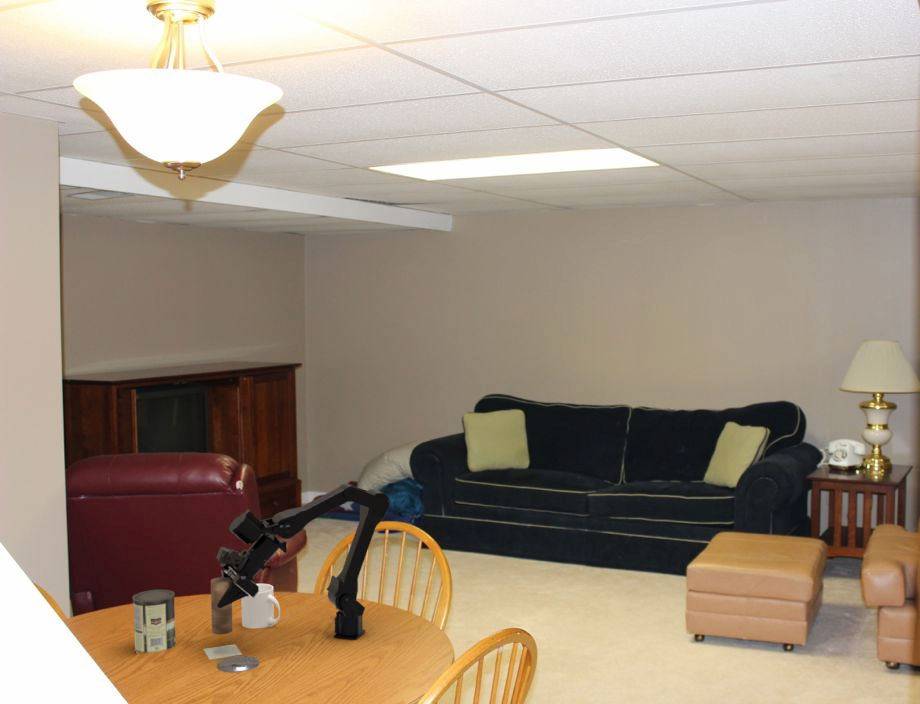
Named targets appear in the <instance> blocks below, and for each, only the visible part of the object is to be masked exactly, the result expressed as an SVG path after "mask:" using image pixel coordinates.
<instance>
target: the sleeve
mask: <svg viewBox="0 0 920 704" xmlns="http://www.w3.org/2000/svg"><path fill="white" fill-rule="evenodd" d="M230 579H231V578H230ZM228 588H229V578H228V577H222V576H221V577H214V578H212V579H211V580H210V601H211V602H210V603H211V604H210V605H211V607H210V608H211V610H210V611H211V633H212V634H213V635H227V634H230V633H232V632H233V602H232V603H230V604H228V605H226V606H224V607H222V608H218V607H217V604H218V603H219V601H220V600H221V598H222V597H223V595H224V594H225V592H226V591H227V589H228Z"/></svg>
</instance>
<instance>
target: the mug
mask: <svg viewBox="0 0 920 704" xmlns="http://www.w3.org/2000/svg"><path fill="white" fill-rule="evenodd" d="M255 584H256V585H257V586H258V588H259V592H258V593H257V594H256V595H255V597H254V598H253V597H252V596H251V595H249V594H248V593H247V594H248V595H249V596H248V597H247V596H246V597H244V598H241V599H240V600H241V603H240V604H241V625H242V628H243V627H244V628H247V629H250V630H251V629H253V630H254V629H255V630H256V629H263V628H264V629H265V628H273V627H274V625H275V624H277V623H279V621H280V619H281V605H280V603H279V601H278V600H277V599H276V597H275V596H274V595H275V594H274V591H275V590H274V586H273V585H271V584H268V583H255ZM274 605H275V606H276V608H277V610H278V616H277V617H276V618H275V606H274Z"/></svg>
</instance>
